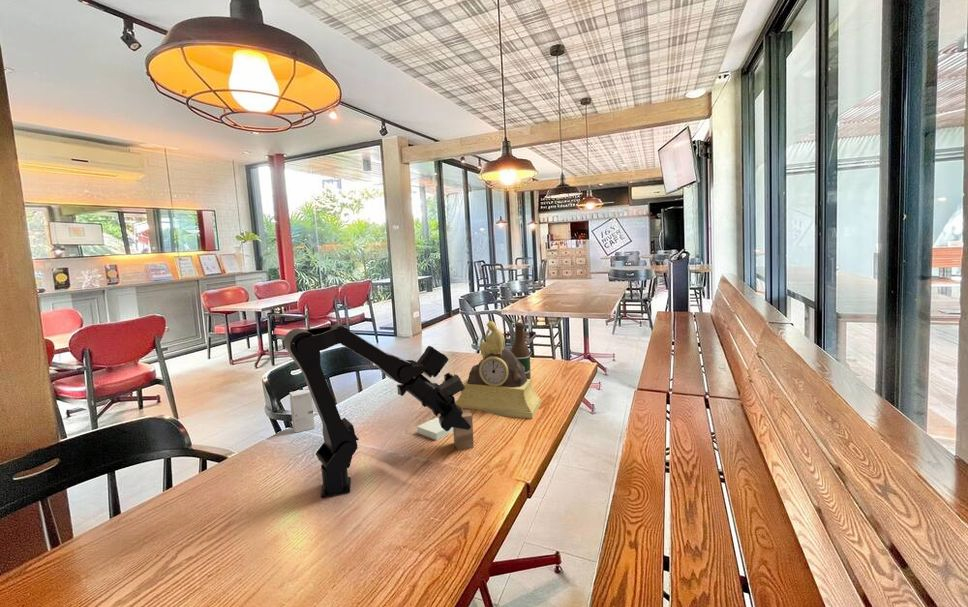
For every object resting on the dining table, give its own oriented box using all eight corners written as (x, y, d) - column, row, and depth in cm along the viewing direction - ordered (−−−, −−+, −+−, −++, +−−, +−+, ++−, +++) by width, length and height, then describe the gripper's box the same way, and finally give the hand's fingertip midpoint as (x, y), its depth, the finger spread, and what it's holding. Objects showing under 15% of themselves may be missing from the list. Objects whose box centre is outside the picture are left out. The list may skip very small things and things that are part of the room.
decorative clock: (451, 411, 146) (447, 324, 141) (465, 397, 158) (461, 317, 153) (532, 419, 136) (530, 327, 132) (540, 404, 148) (538, 319, 144)
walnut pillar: (473, 450, 116) (472, 415, 115) (457, 453, 115) (455, 417, 113) (469, 443, 120) (468, 409, 119) (454, 445, 119) (452, 411, 118)
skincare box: (295, 433, 133) (290, 396, 131) (292, 428, 136) (288, 392, 135) (315, 428, 136) (311, 391, 134) (312, 423, 140) (308, 387, 138)
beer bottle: (509, 384, 170) (507, 325, 167) (513, 378, 177) (512, 321, 174) (528, 385, 168) (527, 325, 164) (532, 379, 175) (530, 321, 172)
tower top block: (456, 430, 127) (455, 423, 127) (436, 440, 121) (436, 433, 121) (437, 423, 132) (436, 417, 132) (417, 432, 126) (417, 426, 126)
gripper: (452, 378, 104) (497, 414, 109) (439, 359, 122) (478, 391, 127) (422, 413, 103) (468, 448, 108) (413, 389, 121) (453, 420, 126)
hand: (467, 424), depth 117 cm, fingers closed on walnut pillar, 4 cm apart
